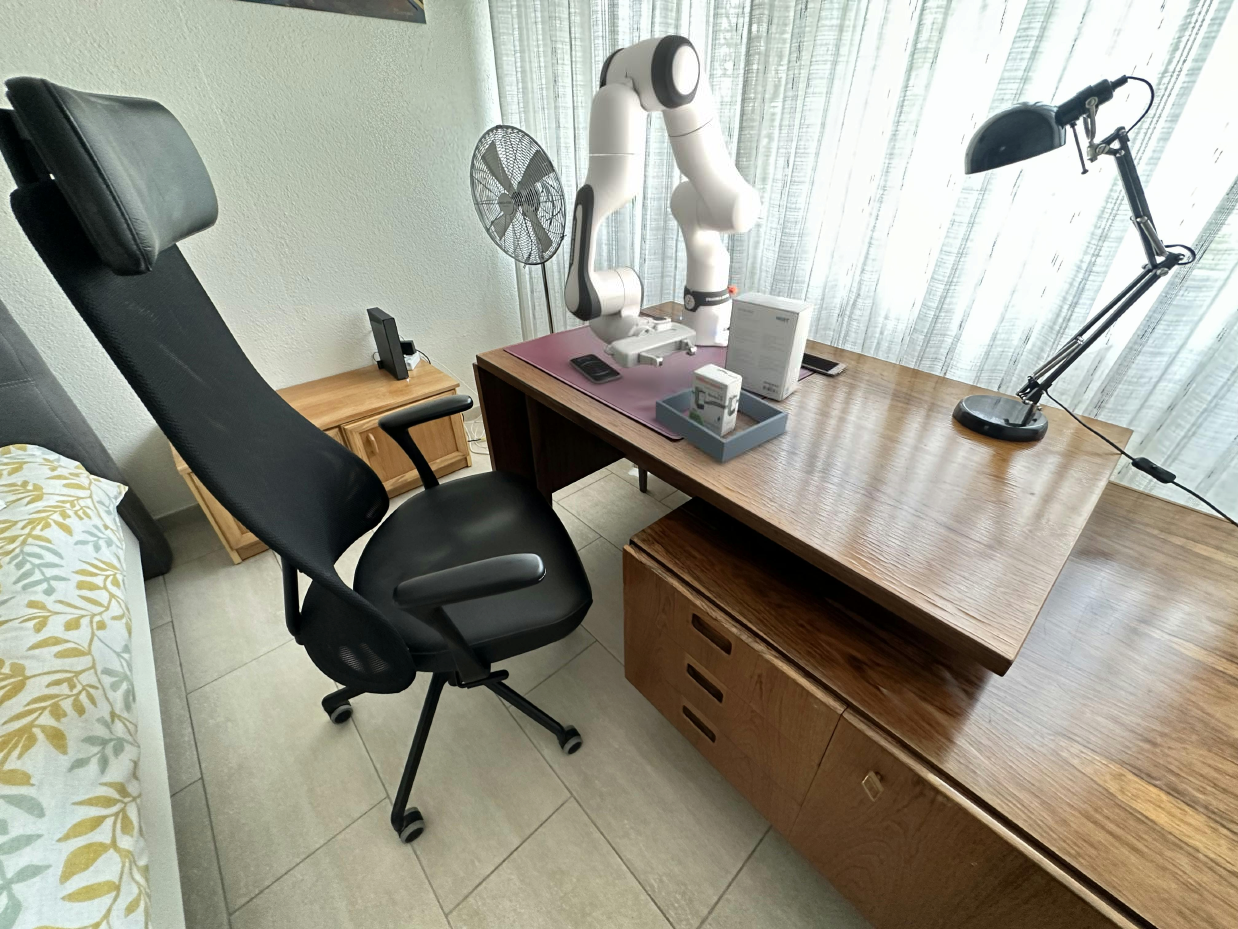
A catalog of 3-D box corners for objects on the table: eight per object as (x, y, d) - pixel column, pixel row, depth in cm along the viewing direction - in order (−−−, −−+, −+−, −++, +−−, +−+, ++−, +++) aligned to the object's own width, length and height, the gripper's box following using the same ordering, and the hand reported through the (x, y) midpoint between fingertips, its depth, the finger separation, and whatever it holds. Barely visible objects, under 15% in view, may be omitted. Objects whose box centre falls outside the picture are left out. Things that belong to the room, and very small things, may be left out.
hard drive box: (796, 390, 109) (816, 303, 97) (780, 402, 105) (799, 313, 93) (738, 371, 118) (749, 289, 106) (721, 382, 113) (731, 297, 101)
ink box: (687, 421, 99) (691, 369, 92) (702, 413, 102) (707, 362, 95) (720, 437, 94) (727, 384, 87) (735, 428, 96) (743, 375, 89)
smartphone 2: (833, 377, 114) (833, 374, 113) (778, 359, 123) (778, 356, 122) (847, 368, 118) (848, 365, 117) (793, 351, 127) (793, 348, 126)
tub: (715, 395, 108) (717, 377, 105) (784, 432, 95) (788, 412, 92) (655, 419, 100) (655, 400, 97) (721, 463, 87) (724, 442, 84)
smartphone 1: (595, 382, 113) (568, 359, 123) (596, 385, 113) (568, 362, 124) (622, 374, 116) (593, 353, 126) (622, 377, 116) (593, 356, 127)
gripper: (599, 334, 101) (637, 355, 92) (672, 315, 111) (713, 332, 101) (600, 362, 105) (637, 384, 96) (670, 341, 114) (711, 359, 105)
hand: (677, 357), depth 99 cm, fingers open, 8 cm apart
